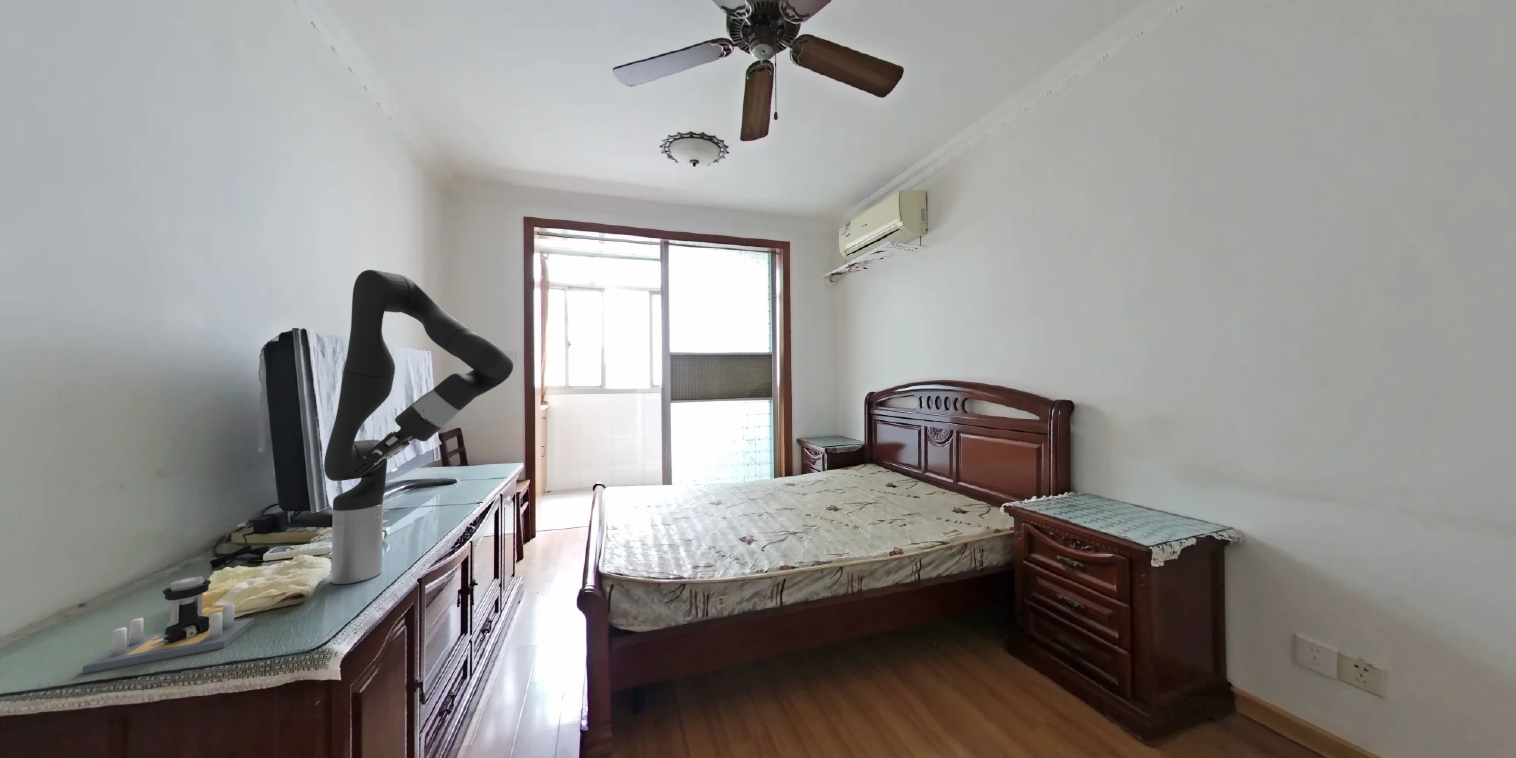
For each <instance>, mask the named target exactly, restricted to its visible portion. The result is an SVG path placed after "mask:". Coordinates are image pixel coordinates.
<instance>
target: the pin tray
mask: <svg viewBox="0 0 1516 758" xmlns="http://www.w3.org/2000/svg"><path fill="white" fill-rule="evenodd" d="M235 605H236V604H235V603H230V604H226V605H224V606H222V611H221V612H220V611H219V612H214V613H213V614H210V616H209V630H208V631H206V632H204V633H199V634H196V635H194V636H192V637H189V638H185V639H183V640H180V641H177V642H174V643H171V644H170V643H161V644H158V645H156V644H155V643H158V642H160V641H163V638H160V639H158V638H157V637H160V636H162V635H163V632H162V633H155V634H148V635H144V621H145V620H144V617H139V618H134V619H132V620H130V621H129V638H128V639H127V634H128V633H127V631H128V627H125V626H124V627H119V628H116V629H113V630H112V631H111V633H112V634H111V648H110V649H109V650H107V651H105V652H104V653H103V654H101V655H99V656H97V657H95V658H94V659H93V660H91V661H89V662H87V663H85V664H84V665H83V666H82V674H89V673H94V672H99V671H105V670H111V669H115V668H116V669H117V668H121V667H126V666H133V665H136V664H137V665H138V664H144V663H149V662H154V661H160V660H164V659H165V660H166V659H172V658H176V657H177V658H178V657H181V656H187V655H192V654H193V655H194V654H198V653H199V654H200V653H203V652H204V653H205V652H209V651H215V650H220V649H224V648H226V647H228V646H229V645H230V644H232V642H233V641H235V640H236V639H237V638H239V636H241V635H242V634H243V633H245V632H246V631H247V630H249V629H250V628H251V627H252V626H253V625H254V617H251V618H246V619H240V620H235V607H236V606H235ZM155 638H157V639H158V640H155V641H151V640H152V639H155ZM153 644H155V645H156V646H151V645H153Z"/></svg>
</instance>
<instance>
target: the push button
mask: <svg viewBox="0 0 1516 758" xmlns="http://www.w3.org/2000/svg"><path fill="white" fill-rule="evenodd" d="M211 583H212V581H211V580H210V579H204V576H192V577H186V578H182V579H178V580H176V581H173V582H171V584H170V586H169V587H167V588H165V589H163V591H162V594H163V595H164V599H165V600H166V601H170V620H169V622H168V625H167V626H165V627H164V628H163V629H162V633H163V635H162V636H160V637H157V638H158V639H160V638H163V641H160V642H158V643H155V644H156V645H158V644H161V643H170V644H171V643H174V642H177V641H180V640H183V639H185V638H189V637H192V636H194V635H196V634H199V633H204V632H206V631H208V630H209V625H210V616H206V615H204V613H205V612H204V611H203V594H204V593H206V592H208V591H209V590H210V589H209V588H210V585H211ZM157 638H155V639H152V640H151V641H155V640H158V639H157ZM155 644H153V645H151V646H156V645H155Z"/></svg>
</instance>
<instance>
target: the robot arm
mask: <svg viewBox="0 0 1516 758" xmlns="http://www.w3.org/2000/svg"><path fill="white" fill-rule="evenodd" d="M351 299H352V300H351V321H350V334H349V338H348V339H349V341H348V347H347V354H346V359H345V363H344V367H343V372H342V377H341V384H340V391H339V392H340V393H339V399H338V405H337V410H336V415H335V419H334V424H333V426H332V429H331V433H330V437H329V440H328V444H327V446H326V451H325V455H324V462H323V463H324V464H323V469H324V470H323V471H324V474H325V476H326V478H327V479H328V480H330V481H333V482H340V481H341V482H342V481H350V480H356V479H360V480H359V483H357V484H356V485H355V486H353V487H351V489H349V490H346V491H345V492H342V493H339V494H338V495H336V496H335V497H334V498H333V501H332V529H331V530H332V532H331V533H332V534H331V537H332V538H331V568H330V569H331V571H330V573H331V574H330V575H331V577H330V582H331V584H333V585H347V584H353V583H359V582H362V581H367V580H369V579H372V578H374V577H377V576H379V575H380V574H381V573H382V572H383V571H382V567H383V566H382V563H383V530H384V529H383V526H384V525H383V523H384V521H383V518H384V516H383V512H384V495H385V491H386V481H387V480H386V478H387V470H388V460H389V459H392V458H393V456H397V455H398V454H399V453H401V452H402V451H403V450H405V449H406V448H407V447H409V446H410V445H411V442H412V441H413V440H417V441H420V442H427V441H429V439H431V438H432V437H434V435H435V434H437V433H438V432H439V431H440V430H441V429H443V428H444V427H445V426H446V425H447V424H448V423H449V422H451V421H452V420H453V419H454V418H455V417H456V415H457V414H459V413H460V411H461V410H463V409H464V408H465V407H466V406H467V405H468V404H470V403H471V402H472V401H473V400H474V399H476V398H477V397H479V396H481V395H483V394H485V393H487V392H489V391H490V390H492V389H494V388H496V387H497V386H499V385H501V384H502V383H504V382H505V381H506V380H507V379H508V378H509V377H511V374H512V373H513V370H514V363H513V360H512V359H511V358H510V356H508V355H507V354H506V353H505V352H504V351H503V350H502V349H501V348H500V347H499V346H497V345H496V344H494V343H493V342H492V341H490V340H488V339H486V338H484V337H483V336H481V335H479V334H477V333H476V332H475V331H474V330H472V329H471V328H469V327H468V326H466V325H465V324H463V323H462V322H461V321H459V320H457V319H456V318H454V317H453V316H452V315H450V314H449V313H448V312H447V311H446V310H444V309H443V308H442V307H441V306H440V305H439V304H438V303H436V302H435V301H434V300H433V298H431V297H430V296H429V294H428V293H426V291H424V290H423V289H422V288H421V287H420V286H419V285H418V284H417V283H416V282H415V281H414V280H412V279H411V278H409V277H408V276H405V275H402V274H399V273H393V272H387V271H381V270H376V269H367V270H363V271H362V272H361V273H359V274H358V275H357V277H356V278H355V281H354V284H353V290H352V297H351ZM386 312H387V313H402V314H404V315H407V316H409V317H411V318H413V319H415V320H417V321H418V322H419V323H421V325H422V326H423V328H424V331H425V333H426V335H427V336H428V338H429V339H430V340H431V341H432V342H433V343H435V345H437V346H439V347H440V348H441V349H443V350H444V351H446V352H447V353H449V354H450V355H452V356H453V357H455V358H457V359H459V360H460V361H462V362H463V363H464V364H466V365H467V366H468V367H469V368H470V369H472V370H470V371H469V372H467V373H464V374H462V373H457V372H456V373H452V374H450V375H449V376H447V377H445V379H443V380H442V381H441V382H439V384H437V385H436V386H434V387H433V388H432V389H431V390H429V391H428V392H426V393H425V394H423V395H421V396H420V397H419V398H417V400H415V401H414V402H413V403H411V405H409V406H408V407H407V408H405V410H403V411H402V412H401V413H400V414H398V415H397V416H396V417H395V418H394V422H395V424H396V425H397V426H399V430H397V431H396V430H395V431H393V432H392V431H391V432H389V433H388V434H386V435H385V436H384V438H382V439H381V440H379V439H366V440H365V439H362V440H356V436H357V435H358V433H359V430H360V428H361V427H362V425H363V424H364V423H365V422H366V420H367V419H369V417H370V416H371V415H372V414H373V413H375V412H376V410H377V409H379V407H381V405H382V404H383V403H385V401H386V400H388V397H389V396H390V394H391V392H392V387H393V384H394V377H395V372H396V364H395V361H394V358H393V356H392V354H391V351H390V350H389V348H388V345H387V343H386V341H385V339H384V336H383V322H384V320H383V319H384V315H385V313H386Z"/></svg>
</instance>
